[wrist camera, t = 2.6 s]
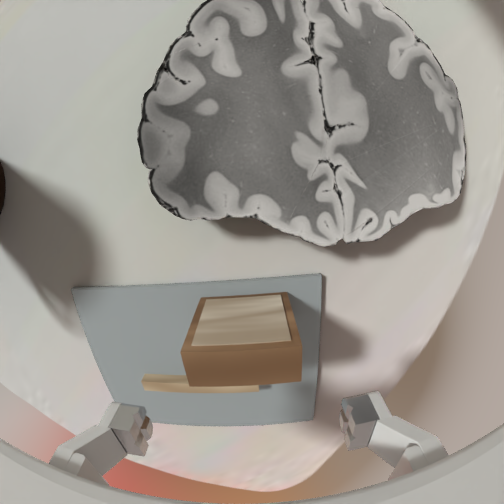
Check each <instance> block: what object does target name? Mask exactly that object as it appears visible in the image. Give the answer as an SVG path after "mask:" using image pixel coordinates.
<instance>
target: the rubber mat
mask: <svg viewBox="0 0 504 504" xmlns="http://www.w3.org/2000/svg"><path fill="white" fill-rule="evenodd" d="M321 289H322V275H321V274H320V273H318V274H307V275H295V276H282V277H269V278H256V279H242V280H227V281H211V282H194V283H175V284H155V285H131V286H103V287H73V288H72V289H71V291H72V295H73V298H74V302H75V305H76V308H77V311H78V314H79V317H80V320H81V323H82V326H83V329H84V332H85V335H86V337H87V340H88V343H89V345H90V348H91V350H92V353H93V355H94V358H95V360H96V363H97V365H98V367H99V370H100V372H101V374H102V376H103V379H104V381H105V383H106V385H107V387H108V389H109V391H110V393H111V395H112V397H113V399H114V401H115V402H118V403H125V404H132V405H138V406H144V407H145V409H146V411H147V413H146V416H147V417H149V418H150V419H151V422H154V423H164V424H176V425H192V426H254V425H270V424H282V423H292V422H301V421H309V420H313V417H314V407H315V397H316V386H317V374H318V360H319V343H320V323H321ZM277 292H287V294H288V297H289V301H290V304H291V307H292V311H293V314H294V318H295V321H296V325H297V328H298V332H299V335H300V339H301V342H302V380H301V381H300V382H290V383H280V384H267V385H259V392H244V393H178V392H159V391H146V390H144V387H143V385H142V382H141V380H142V378H143V376H144V374H163V375H186V372H185V368H184V365H183V361H182V357H181V353H180V352H181V349H182V346H183V343H184V341H185V338H186V335H187V332H188V330H189V327H190V324H191V322H192V319H193V316H194V314H195V311H196V308H197V306H198V303H199V301H200V298H201V297H219V296H235V295H251V294H264V293H277Z"/></svg>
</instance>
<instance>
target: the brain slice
mask: <svg viewBox="0 0 504 504" xmlns="http://www.w3.org/2000/svg"><path fill="white" fill-rule="evenodd" d="M141 108H142V119H141V122H140V125H139V127H138V134H137V140H138V144H139V148H140V154H141V159H142V163H143V165H144V166H145V167H146V168H148V169H150V171H149V175H148V184H149V187H150V189H151V192H152V194H153V195H154V197H155V198H156V200H157V201H158V203H159V204H160V205H161V206H163V207H164V208H165V209H167V210H168V211H169V212H171V213H172V214H174V215H175V216H177V217H180V218H182V219H186V220H190V221H191V220H195V219H205V220H218V219H222V218H225V217H243V218H255V219H257V220H259V221H261V222H263V223H265V224H267V225H269V226H271V227H273V228H275V229H277V230H279V231H282V232H284V233H287V234H290V235H293V236H299V237H300V238H302V239H303V240H304V241H307V242H310V243H313V244H316V245H319V246H322V247H325V246H331V245H336V244H337V242H338V241H339V240H341V239H343V240H344V242H345V243H346V244H347V243H353V242H365V241H376V240H378V239H379V238H381V237H382V236H384V235H385V234H386V233H388V232H389V231H390V230H391V229H392V228H394V227H396V226H398V225H399V224H401V223H402V222H404V221H405V220H407V219H408V218H409V217H410V215H411V214H413V213H415V212H417V211H419V210H421V209H423V208H439V207H441V206H443V205H445V204H450V203H452V202H453V201H455V200H456V199H457V198H458V196H459V195H460V193H461V189H462V184H463V179H464V175H465V166H466V144H465V139H464V124H463V115H462V109H461V104H460V101H459V99H458V92H457V87H456V85H455V83H454V81H453V80H452V79H451V78H450V77H449V76H447V75H445V73H444V71H443V69H442V67H441V65H440V64H439V62H438V60H437V59H436V57H435V56H434V54H433V53H432V51H431V49H430V48H429V46H428V45H427V44H425V43H424V42H423V41H422V40H421V39H419V38H418V37H417V36H416V35H415V33H414V32H413V30H412V28H411V27H410V26H409V25H408V24H407V23H406V21H404V20H403V19H402V18H401V17H400V16H398V15H397V14H396V13H394V12H393V11H391V10H390V9H388V8H387V7H385V6H384V5H383V4H382V2H381V1H380V0H303V4H302V1H301V0H207V1H205V2H204V3H202V4H201V5H200V6H199V7H198V8H197V9H196V10H195V11H194V12H193V13H192V15H191V16H190V17H189V18H188V21H187V26H186V32H185V33H184V34H183V35H181V36H179V37H178V38H177V39H176V40H175V41H174V42H173V43H172V44H171V45H170V47H169V49H168V52H167V54H166V56H165V59H164V61H163V63H162V64H161V66H160V68H159V69H158V71H157V73H156V76H155V79H154V82H153V86H152V87H151V88H150V89H149V90H148V91H147V92H146V93H145V94H144V97H143V101H142V104H141Z"/></svg>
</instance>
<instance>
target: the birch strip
mask: <svg viewBox="0 0 504 504" xmlns="http://www.w3.org/2000/svg"><path fill="white" fill-rule="evenodd" d="M141 382H142V385H143V387H144V390H146V391H159V392H178V393H244V392H259V385H252V386H225V387H190V386H189V383H188V379H187V376H186V375H163V374H144V376H143V378H142V380H141Z"/></svg>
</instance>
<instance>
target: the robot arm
mask: <svg viewBox="0 0 504 504" xmlns="http://www.w3.org/2000/svg"><path fill="white" fill-rule="evenodd" d="M341 405H342V408H343V409H342V410H341V411H340V416H339V422H340V427H341V431H342V432H343V433H345V438H344V440H345V443H346V446H347V449H348V451H349V450H354V449H359V448H363V447H368V448H369V449H370V450H371V451H373V452H374V453H375V454H377V455H378V456H379V457H381V458H382V459H383V460H385V461H386V462H387V463H389V464H390V465H391V466H393V467H394V468H395V469H394V471H393V472H392V474H391V475H390V477H389V479H388V481H385V482H382V483H379V484H375V485H372V486H368V487H364V488H361V489H357V490H353V491H349V492H344V493H340V494H335V495H330V496H324V497H319V498H312V499H305V500H298V501H289V502H278V503H260V504H504V424H503V425H501V426H500V427H498V428H496V429H495V430H494V431H492V432H490V433H489V434H487V435H485V436H484V437H482V438H481V439H479V440H477V441H475V442H474V443H472V444H470V445H468V446H467V447H465V448H463V449H461V450H459V451H457V452H455V453H453V454H451V455H448V453H447V452H446V450H445V448H444V446H443V445H442V443H441V441H440V440H439V438H438V436H436V435H434V434H432V433H430V432H428V431H426V430H424V429H422V428H420V427H418V426H415V425H414V424H411V423H410V422H407V421H406V420H404V419H402V418H400V417H398V416H396V415H395V416H392V414H391V413H390V411H389V409H388V407H387V405H386V403H385V402H384V400H383V398H382V396H381V394H380V392H379V391H374V392H370V393H366V394H361V395H356V396H351V397H346V398H343V400H342V404H341ZM146 413H147V411H146V409H145V407H144V406H138V405H132V404H125V403H118V402H112V403H110V405H109V406H108V408H107V410H106V412H105V414H104V415H103V417H102V419H101V421H100V423H99V425H98V426H97V425H95V426H93V427H91V428H90V429H88V430H86V431H84V432H83V433H81V434H79V435H77V436H76V437H74V438H72V439H70V440H68V441H67V442H65V443H63V444H61V445H59V446H58V448H57V450H56V452H55V453H54V455H53V457H52V458H51V460H50V462H49V464H48V463H45V462H43V461H41V460H39V459H37V458H35V457H33V456H31V455H29V454H27V453H25V452H23V451H21V450H20V449H18V448H16V447H14V446H12V445H11V444H9V443H7V442H5V441H4V440H2V439H1V438H0V504H217V503H201V502H191V501H182V500H173V499H166V498H160V497H155V496H149V495H144V494H139V493H134V492H130V491H126V490H122V489H118V488H114V487H111V486H109V484H108V482H107V481H106V480H105V479H104V478H103V477H102V476H103V475H104V474H105V473H106V472H107V471H109V470H110V469H111V468H112V467H114V466H115V465H116V464H117V463H118V462H119V461H121V460H122V459H123V458H124V457H125V456H126V455H127V454H133V455H139V456H145V454H146V451H147V448H148V443H147V440H149V439H150V438H151V436H152V432H153V426H152V422H151V419H150V418H149V417H147V416H146Z"/></svg>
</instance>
